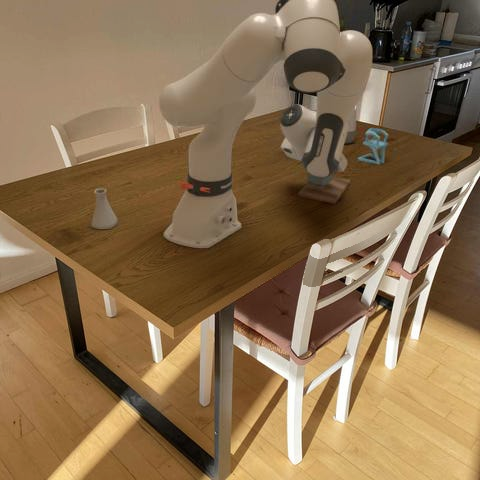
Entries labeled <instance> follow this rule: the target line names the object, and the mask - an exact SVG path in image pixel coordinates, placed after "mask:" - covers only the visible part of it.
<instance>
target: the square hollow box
mask: <svg viewBox="0 0 480 480" xmlns="http://www.w3.org/2000/svg"><path fill="white" fill-rule="evenodd" d="M306 174H307V175H306V182H312V183H315V184H318V185H322V186H324V185H325V184H327V183H329V182H331V181H332V179H333V177H334V174H332V175H330V176H328V177H325V178H319V177H315V176H312V175H310V174H309V173H308V172H307V173H306Z"/></svg>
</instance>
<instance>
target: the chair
mask: <svg viewBox="0 0 480 480" xmlns="http://www.w3.org/2000/svg"><path fill="white" fill-rule="evenodd" d="M378 133H381V134H383V135H384V136H385V137H384V138H383V141H381V136H379V135H378ZM369 136H371V137H372V136H373V137H372V138H371V139H369ZM388 137H389V133H387V132H386V131H385V130H384V129H381V128H374V127H371V128H368V130H367V131H366V132H365V141H363V142H362V145H364V146H367V147H369V149H371V151H372V153H367V154H365V155H362V156H360V157H357V161H360V162H365V163H370V164H375V165H381V164H385V152H386V147H387V146H388V145H389V143H388V142H387V138H388ZM378 149H380V157H379V154H378ZM368 157H371V158H372V159H369V158H368Z"/></svg>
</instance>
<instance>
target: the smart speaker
mask: <svg viewBox="0 0 480 480" xmlns="http://www.w3.org/2000/svg"><path fill="white" fill-rule="evenodd" d="M348 122H349V128H348V132H347V136H346V139H345V143H344V145H348V144H352V143H353V141H354V140H355V137H356V131H357V130H356V129H357V108H356V107H355V109H354V111H353V112H352V114H351V116H350V118H349V120H348Z"/></svg>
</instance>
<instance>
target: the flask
mask: <svg viewBox="0 0 480 480" xmlns="http://www.w3.org/2000/svg"><path fill="white" fill-rule="evenodd" d="M93 193H94V195H95V206H94V207H95V208H94V212H93V216H92V219H91V224H90V227H91V228H94V229H97V230H110V229H112V228H113V227H115V226H117V225H118V221H119V220H118V217H117V216H116V214H115V213H114V211H113V209H112V207H111V205H110V203H109V201H108V198H107V189H105V188H96V189H94V191H93Z"/></svg>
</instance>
